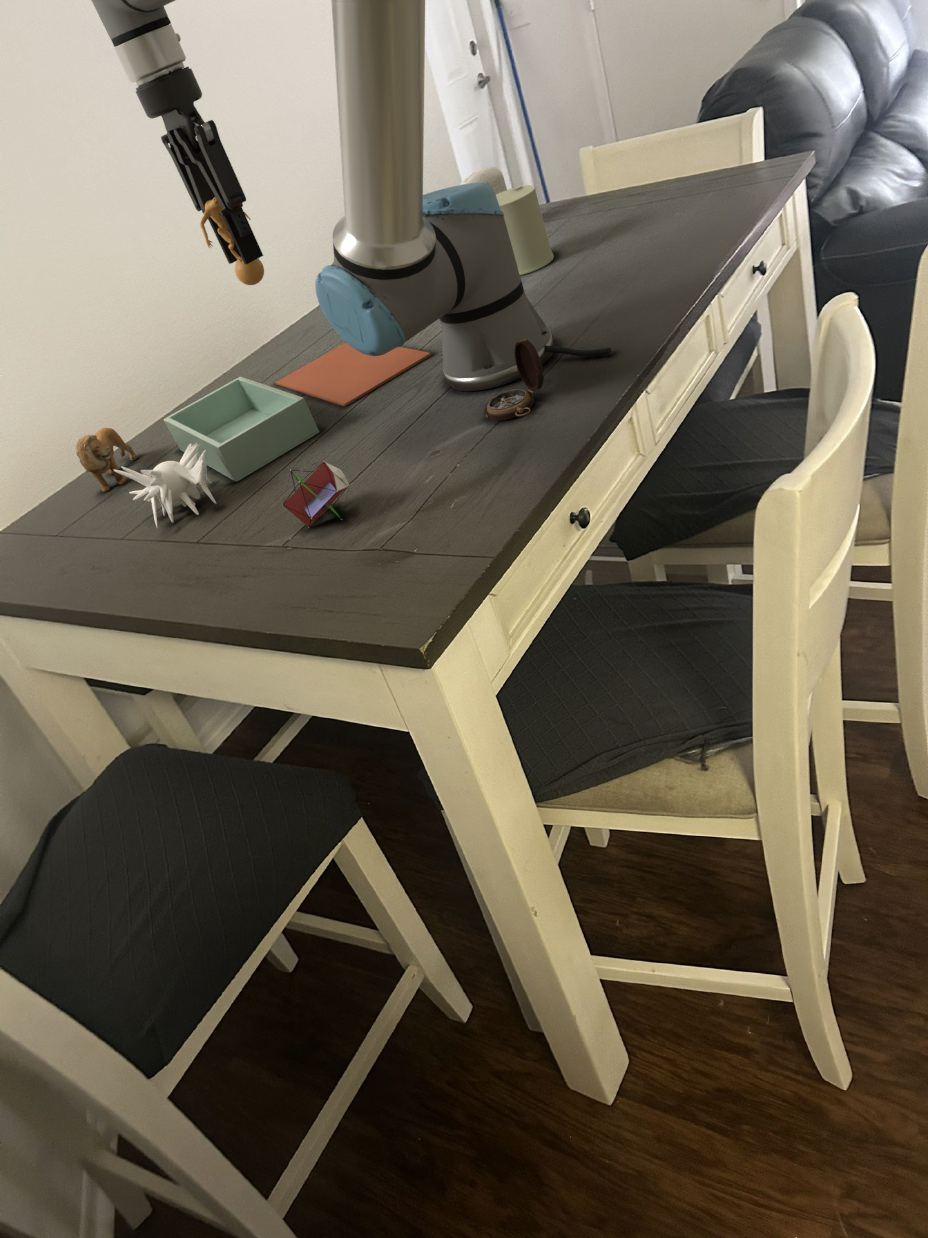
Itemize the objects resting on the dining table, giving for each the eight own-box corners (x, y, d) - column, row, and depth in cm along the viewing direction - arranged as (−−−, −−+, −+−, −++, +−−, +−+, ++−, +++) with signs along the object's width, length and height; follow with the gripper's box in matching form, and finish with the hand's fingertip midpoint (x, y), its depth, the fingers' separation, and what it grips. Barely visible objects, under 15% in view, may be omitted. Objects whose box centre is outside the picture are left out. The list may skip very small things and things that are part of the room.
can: (563, 250, 157) (544, 177, 150) (538, 273, 152) (517, 198, 145) (517, 257, 163) (497, 187, 156) (492, 279, 157) (470, 207, 150)
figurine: (245, 300, 127) (214, 214, 119) (214, 293, 130) (181, 209, 121) (283, 270, 132) (256, 185, 123) (252, 264, 134) (223, 181, 126)
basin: (319, 432, 128) (303, 397, 125) (236, 482, 123) (218, 447, 120) (255, 407, 145) (240, 376, 142) (180, 450, 140) (163, 419, 137)
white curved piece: (505, 228, 181) (486, 161, 174) (521, 226, 178) (502, 159, 171) (469, 250, 177) (449, 183, 170) (485, 249, 173) (464, 181, 167)
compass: (478, 414, 115) (459, 360, 111) (533, 386, 116) (516, 332, 112) (504, 432, 109) (486, 375, 104) (562, 403, 110) (546, 345, 106)
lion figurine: (132, 489, 134) (99, 434, 129) (98, 503, 134) (63, 449, 129) (139, 451, 146) (109, 400, 141) (108, 464, 146) (77, 413, 141)
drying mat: (431, 355, 138) (430, 352, 137) (344, 406, 132) (343, 404, 132) (355, 339, 156) (354, 337, 156) (276, 384, 150) (275, 382, 150)
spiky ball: (229, 520, 117) (205, 460, 112) (136, 550, 116) (107, 491, 111) (223, 485, 126) (200, 428, 121) (137, 512, 125) (111, 457, 120)
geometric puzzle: (284, 535, 101) (300, 465, 98) (271, 512, 107) (285, 446, 104) (346, 543, 104) (363, 475, 101) (330, 521, 110) (346, 456, 107)
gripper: (213, 52, 109) (296, 247, 122) (162, 73, 123) (242, 247, 136) (158, 75, 107) (249, 272, 120) (113, 94, 120) (199, 270, 133)
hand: (245, 259), depth 128 cm, fingers open, 5 cm apart
